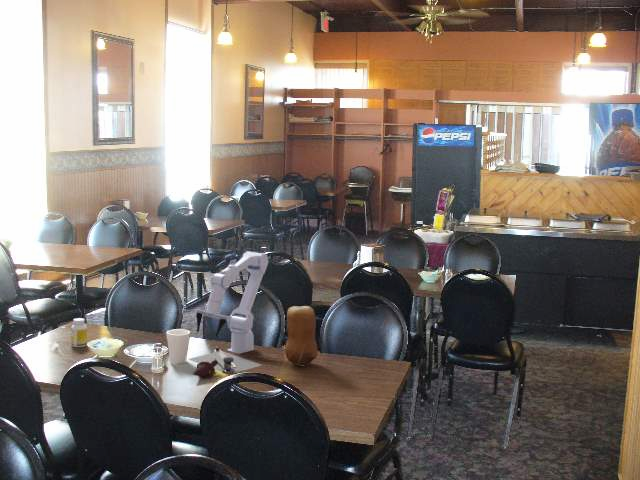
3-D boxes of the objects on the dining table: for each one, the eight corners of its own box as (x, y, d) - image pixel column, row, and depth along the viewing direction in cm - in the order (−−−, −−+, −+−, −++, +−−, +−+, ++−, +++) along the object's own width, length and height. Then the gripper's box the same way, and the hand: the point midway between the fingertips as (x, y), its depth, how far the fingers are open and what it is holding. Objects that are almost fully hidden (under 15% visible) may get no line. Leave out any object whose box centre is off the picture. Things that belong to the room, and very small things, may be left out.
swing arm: (234, 370, 307) (234, 359, 306) (224, 371, 305) (224, 360, 305) (221, 356, 325) (221, 346, 324) (211, 357, 323) (212, 346, 322)
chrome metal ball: (228, 370, 312) (228, 359, 311) (236, 373, 308) (237, 362, 308) (219, 372, 308) (219, 362, 307) (227, 375, 305) (227, 364, 304)
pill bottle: (90, 345, 338) (90, 319, 336) (78, 348, 332) (78, 322, 331) (80, 342, 341) (79, 316, 340) (68, 345, 336) (67, 319, 334)
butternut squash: (295, 358, 331) (297, 300, 327) (323, 364, 324) (325, 305, 320) (277, 366, 319) (279, 306, 315) (305, 372, 312) (308, 312, 309)
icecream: (203, 369, 292) (225, 362, 305) (188, 361, 295) (210, 354, 308) (198, 386, 293) (220, 378, 306) (183, 378, 296) (206, 370, 309)
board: (221, 352, 335) (221, 350, 335) (262, 366, 318) (262, 365, 318) (187, 360, 322) (187, 359, 322) (229, 375, 305) (229, 374, 305)
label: (236, 367, 313) (236, 366, 313) (226, 368, 312) (226, 367, 312) (231, 363, 319) (232, 361, 319) (222, 363, 317) (222, 362, 317)
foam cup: (184, 367, 313) (184, 336, 311) (162, 365, 315) (163, 334, 313) (192, 360, 322) (193, 330, 320) (171, 358, 324) (172, 328, 322)
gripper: (198, 297, 314) (189, 330, 311) (233, 305, 316) (224, 338, 313) (197, 298, 321) (189, 330, 318) (231, 306, 323) (223, 339, 320)
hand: (206, 334), depth 316 cm, fingers open, 7 cm apart
